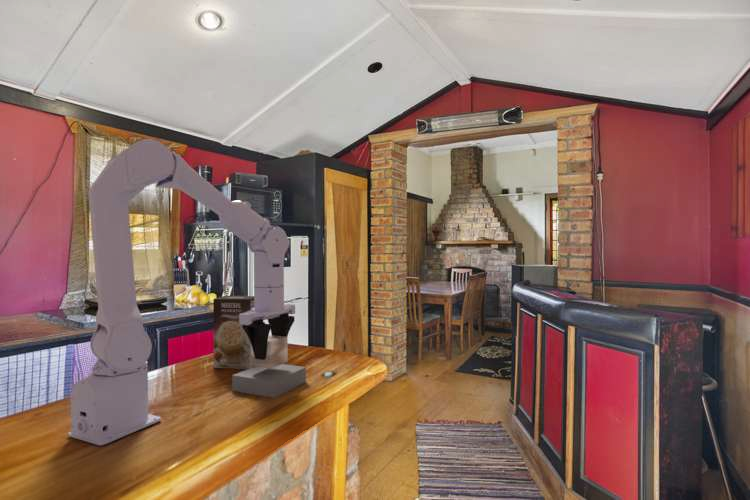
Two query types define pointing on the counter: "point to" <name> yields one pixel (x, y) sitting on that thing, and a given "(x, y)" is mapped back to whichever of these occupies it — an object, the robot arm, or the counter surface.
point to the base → (269, 380)
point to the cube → (273, 352)
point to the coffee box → (231, 332)
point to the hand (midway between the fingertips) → (269, 355)
